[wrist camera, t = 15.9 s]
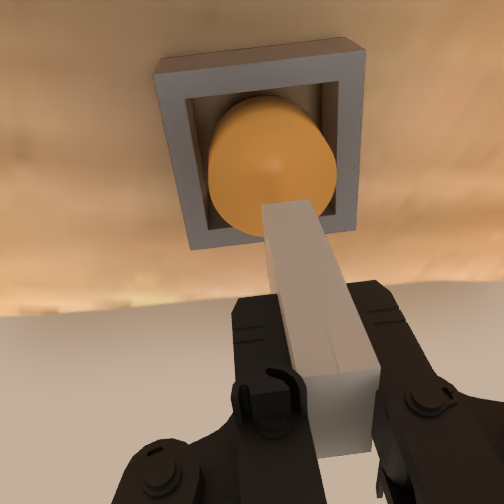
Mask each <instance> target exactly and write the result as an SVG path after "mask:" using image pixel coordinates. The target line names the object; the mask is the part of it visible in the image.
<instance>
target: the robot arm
mask: <svg viewBox="0 0 504 504" xmlns="http://www.w3.org/2000/svg"><path fill="white" fill-rule="evenodd" d="M261 207H262V218H263V229H264V239H265V250H266V261H267V272H268V279H269V285H270V290H271V294H269V295H261V296H253V297H245V298H238V300H237V303H236V305H235V307H234V309H233V311H232V313H231V314H232V330H233V345H234V346H233V348H234V363H235V380H236V381H235V383H234V384H233V387H232V392H231V402H232V407H233V413H232V415H231V416H230V418H229V419H228V421H227V422H226V423H225V424H224V425H223V426H222V427H221V428H220V429H219V430H217V431H215V432H214V433H212V434H210V435H208V436H206V437H204V438H202V439H200V440H198V441H196V442H193V443H191V444H189V445H188V444H187V443H186V442H183V441H180V440H176V439H173V438H171V439H160V440H157V441H155V442H152V443H150V444H148V445H146V446H144V447H143V448H142V449H141V450H140V451H139V452H138V453H136V454H135V455H134V456H133V457H132V459H131V460H130V462H129V464H128V465H127V467H126V469H125V470H124V473H123V476H122V478H121V481H120V483H119V486H118V488H117V490H116V494H115V495H114V498H113V500H112V503H111V504H327V501H326V497H325V492H324V488H323V483H322V479H321V474H320V470H319V465H318V460H317V459H319V458H326V457H333V456H342V455H349V454H357V453H365V452H371V448H372V439H373V441H374V444H375V447H376V450H377V453H378V456H379V458H380V461H379V468H378V476H377V482H376V493H377V498H382V497H383V491H384V494H385V497H386V500H387V503H388V504H504V402H499V401H492V400H486V399H480V398H475V397H471V396H467V395H465V394H463V393H460V392H458V391H457V389H456V388H455V387H454V386H453V385H452V384H450V383H449V382H447V381H446V380H444V379H443V378H441V377H439V376H437V374H436V373H435V372H434V370H433V369H432V367H431V365H430V363H429V361H428V360H427V358H426V356H425V355H424V352H423V350H422V349H421V347H420V345H419V343H418V341H417V339H416V338H415V336H414V334H413V332H412V330H411V328H410V327H409V325H408V323H406V319H405V317H404V316H403V314H402V312H401V310H399V306H398V305H397V303H396V301H395V299H394V297H393V295H392V294H391V292H390V291H389V290H388V289H386V288H385V287H384V286H383V285H381V284H380V283H379V282H378V281H376V280H371V281H363V282H355V283H347V284H346V283H345V281H344V278H343V276H342V274H341V271H340V269H339V266H338V264H337V262H336V259H335V257H334V255H333V252H332V250H331V247H330V245H329V243H328V240H327V238H326V236H325V233H324V231H323V228H322V226H321V224H320V221H319V219H318V217H317V214H316V212H315V209H314V207H313V205H312V202H311V200H310V199H304V200H296V201H287V202H279V203H271V204H263V205H261Z"/></svg>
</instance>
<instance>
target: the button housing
mask: <svg viewBox="0 0 504 504" xmlns="http://www.w3.org/2000/svg"><path fill="white" fill-rule="evenodd" d="M365 56H366V50H365V49H364V48H362V47H360V46H359V45H357V44H355V43H354V42H352V41H350V40H349V39H347V38H345V37H343V38H334V39H325V40H317V41H308V42H300V43H291V44H282V45H274V46H265V47H257V48H248V49H240V50H231V51H222V52H214V53H205V54H197V55H188V56H179V57H171V58H162V59H160V61H159V63H158V65H157V67H156V69H155V71H154V74H153V78H154V82H155V87H156V92H157V96H158V101H159V106H160V110H161V115H162V120H163V124H164V129H165V134H166V138H167V143H168V148H169V152H170V157H171V162H172V166H173V171H174V176H175V180H176V185H177V190H178V194H179V199H180V204H181V208H182V213H183V218H184V222H185V227H186V232H187V237H188V241H189V246H190V251H191V250H199V249H207V248H215V247H223V246H231V245H239V244H247V243H255V242H264V241H265V239H264V237H259V236H253V235H250V234H246V233H244V232H242V231H239V230H238V229H236V228H234V227H233V226H231V225H230V224H229V223H227V222H226V221H225V220H224V219H223V218H222V217H221V215H220V214H219V213H218V212H217V210H216V208H215V206H214V204H213V202H212V200H208V196H207V190H206V184H205V179H204V173H203V167H202V161H201V155H200V149H199V143H198V137H197V132H196V126H195V120H194V114H193V108H192V102H191V98H198V97H207V96H215V95H224V94H232V93H241V92H249V91H257V90H266V89H274V88H283V87H291V86H300V85H308V84H317V83H322V136H323V137H324V139H325V140H326V142H327V144H328V145H329V147H330V149H331V151H332V153H333V155H334V158H335V162H336V167H337V180H336V186H335V190H334V193H333V196H332V198H331V200H330V202H329V204H328V205H327V207H326V208H325V210H324V211H323V212H322V213H321V214H320V215H319V217H318V219H319V221H320V224H321V226H322V228H323V231H324V233H325V234H328V233H337V232H345V231H353V230H356V217H357V199H358V182H359V164H360V146H361V128H362V110H363V92H364V74H365Z"/></svg>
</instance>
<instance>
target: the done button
mask: <svg viewBox="0 0 504 504" xmlns="http://www.w3.org/2000/svg"><path fill="white" fill-rule="evenodd" d="M336 180H337V167H336V162H335V158H334V155H333V153H332V151H331V149H330V147H329V145H328V144H327V142H326V140H325V139H324V137H323V136H322V134H321V132H320V131H319V129H318V128H317V126H316V124H315V123H314V121H313V120H312V118H311V117H310V116H309V114H308V113H307V112H306V111H305V110H304V109H303V108H301V107H300V106H299V105H297V104H296V103H294V102H292V101H290V100H287V99H284V98H281V97H276V96H259V97H253V98H250V99H247V100H244V101H242V102H240V103H238V104H236V105H235V106H233V107H232V108H231V109H229V110H228V111H227V112H226V113H225V114H224V115H223V116H222V117H221V118H220V120H219V121H218V123H217V124H216V126H215V128H214V130H213V132H212V135H211V138H210V143H209V167H208V183H209V192H210V196H211V199H212V202H213V204H214V206H215V208H216V210H217V212H218V213H219V214H220V215H221V217H222V218H223V219H224V220H225V221H226V222H227V223H229V224H230V225H231V226H233V227H234V228H236V229H238V230H239V231H242V232H244V233H246V234H250V235H253V236H259V237H264V229H263V218H262V207H261V205H263V204H271V203H279V202H287V201H296V200H304V199H310V200H311V202H312V205H313V207H314V209H315V212H316V214H317V217H319V215H320V214H321V213H322V212H323V211H324V210H325V208H326V207H327V205H328V204H329V202H330V200H331V198H332V196H333V193H334V190H335V186H336Z"/></svg>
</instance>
